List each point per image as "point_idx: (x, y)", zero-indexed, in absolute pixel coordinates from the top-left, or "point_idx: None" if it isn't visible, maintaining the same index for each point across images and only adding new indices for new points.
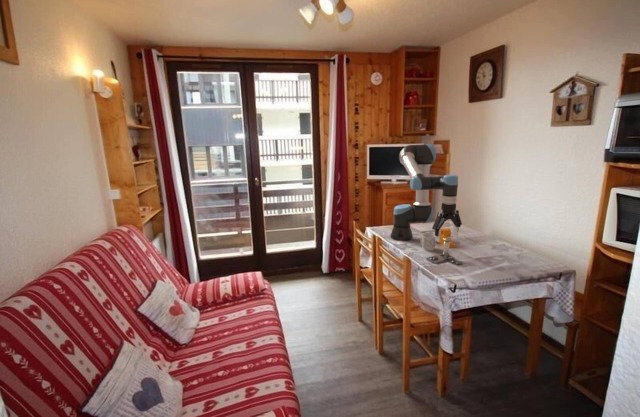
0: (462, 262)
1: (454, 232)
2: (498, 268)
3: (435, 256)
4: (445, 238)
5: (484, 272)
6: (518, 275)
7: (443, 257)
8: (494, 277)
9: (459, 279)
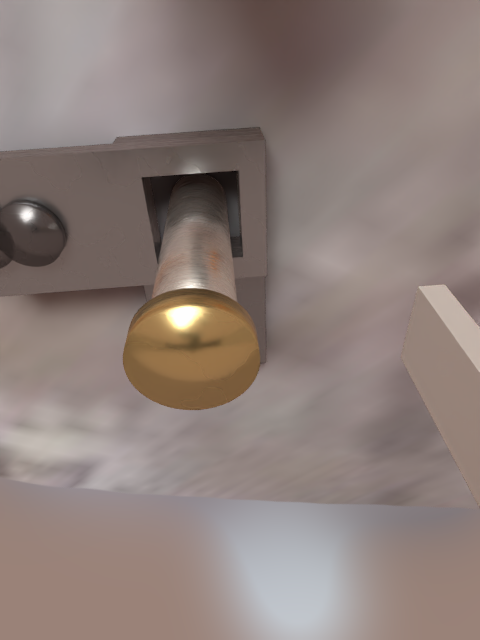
0: (258, 342)
1: (457, 388)
2: (402, 436)
3: (71, 179)
4: (176, 347)
5: (277, 447)
6: (390, 502)
7: (143, 242)
8: (266, 490)
9: (65, 464)
